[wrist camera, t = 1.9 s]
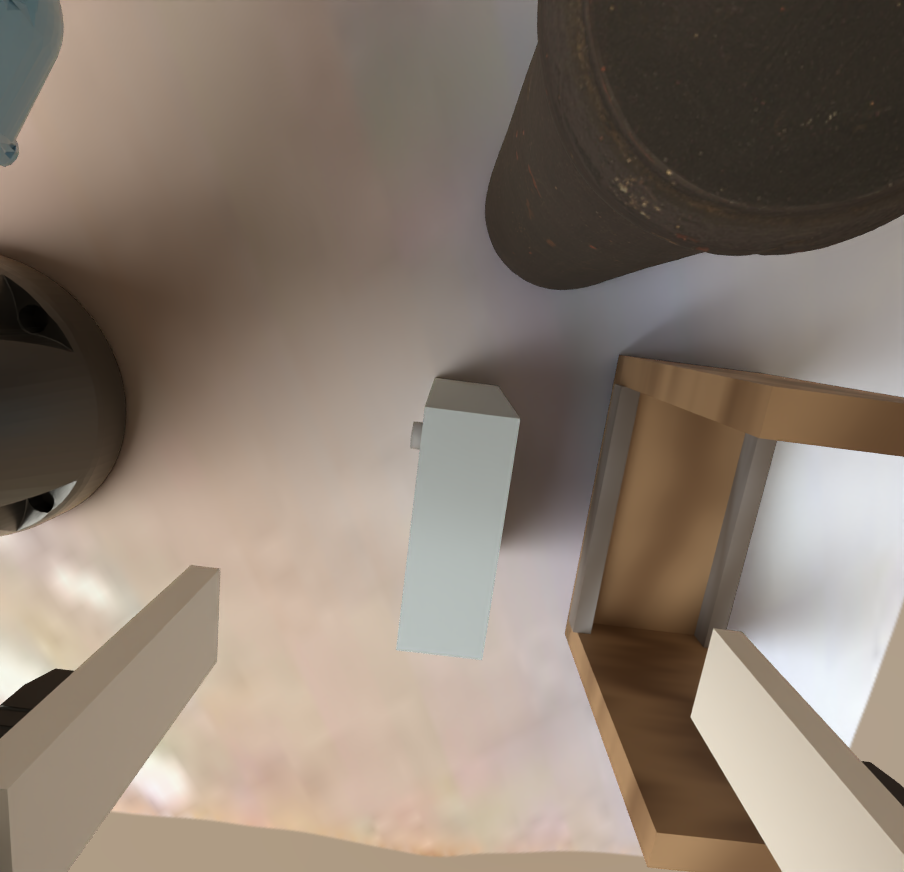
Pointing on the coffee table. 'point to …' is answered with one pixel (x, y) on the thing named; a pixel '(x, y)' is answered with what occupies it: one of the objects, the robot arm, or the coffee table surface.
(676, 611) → the brown cabinet body
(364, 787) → the coffee table surface
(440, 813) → the coffee table surface
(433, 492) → the door slab
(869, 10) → the container
